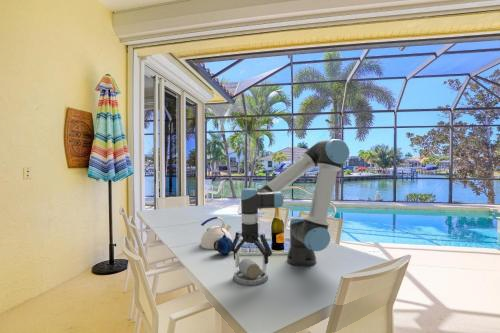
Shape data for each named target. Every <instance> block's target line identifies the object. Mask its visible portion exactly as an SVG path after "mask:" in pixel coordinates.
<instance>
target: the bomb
mask: <svg viewBox="0 0 500 333" xmlns="http://www.w3.org/2000/svg"><path fill="white" fill-rule="evenodd" d="M221 231H222V228H221ZM222 232H223V233H224V235H223V237H222V238H220V239H219V240H217V241H215V242H214V249H213V250H214V251H216V252H218V253H219V254H221V255H228V254H230V253H231V252H232V251H230V248H231V246H232V243H233V239H232V238H231V239H232V240H231V239H230V238H228V237H226V235H225V232H224V231H222Z"/></svg>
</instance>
